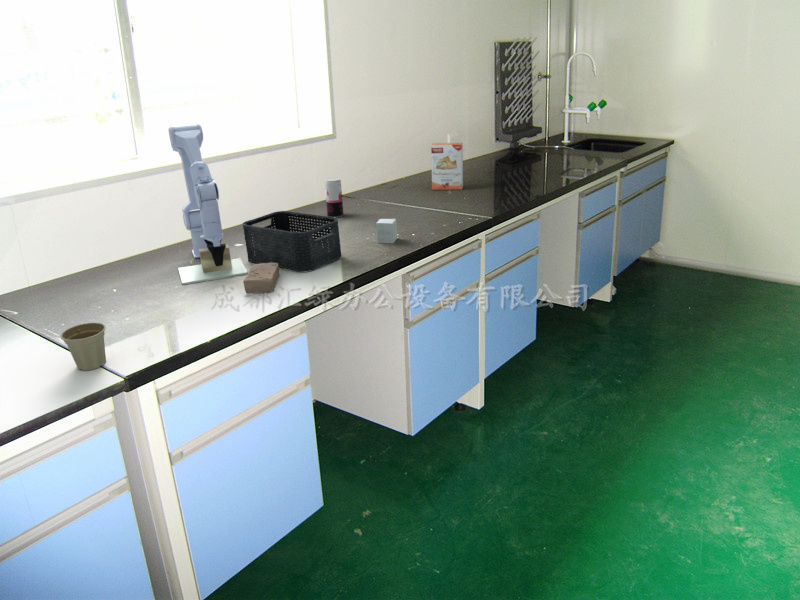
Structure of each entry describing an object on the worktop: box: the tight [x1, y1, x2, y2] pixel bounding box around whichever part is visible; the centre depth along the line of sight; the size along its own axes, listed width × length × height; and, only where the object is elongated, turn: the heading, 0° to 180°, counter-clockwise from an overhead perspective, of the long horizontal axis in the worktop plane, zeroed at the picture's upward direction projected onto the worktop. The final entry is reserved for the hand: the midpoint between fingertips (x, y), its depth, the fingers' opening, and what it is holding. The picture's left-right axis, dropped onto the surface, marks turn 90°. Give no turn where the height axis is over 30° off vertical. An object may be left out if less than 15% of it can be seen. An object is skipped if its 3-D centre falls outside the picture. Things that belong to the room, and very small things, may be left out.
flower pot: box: [60, 322, 107, 371], centre depth 150 cm, size 9×9×9 cm
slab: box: [199, 244, 232, 273], centre depth 209 cm, size 3×9×7 cm, turn 112°
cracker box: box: [430, 142, 464, 191], centre depth 301 cm, size 14×6×21 cm, turn 81°
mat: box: [177, 257, 249, 285], centre depth 209 cm, size 16×20×1 cm
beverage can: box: [324, 177, 344, 218], centre depth 266 cm, size 6×7×15 cm
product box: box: [375, 218, 398, 244], centre depth 231 cm, size 6×6×7 cm
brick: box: [243, 263, 281, 294], centre depth 196 cm, size 17×8×5 cm, turn 2°
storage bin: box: [242, 210, 342, 273], centre depth 215 cm, size 29×19×13 cm
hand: (217, 262), depth 209 cm, fingers open, 7 cm apart
